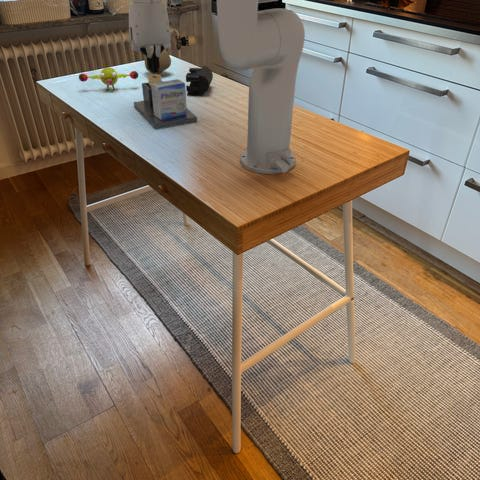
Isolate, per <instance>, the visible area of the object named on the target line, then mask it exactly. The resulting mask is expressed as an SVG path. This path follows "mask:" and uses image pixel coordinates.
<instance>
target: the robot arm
mask: <svg viewBox="0 0 480 480" xmlns="http://www.w3.org/2000/svg"><path fill="white" fill-rule="evenodd" d="M271 2H278V0H216V13H217V14H216V16H217V34H218V42H219V49H220V53H221V56H222V58H223V60H224V62H225V63H226V64H227V66H228V67H229V68H231V69H233V70H235V71H247V70H248V71H249V70H252V71H251V75H250V78H249V84H248V85H249V86H248V106H247V107H248V110H247V111H248V113H247V141H246V143H247V144H246V145H247V147H246V149H244V150H243V152H241V154H240V156H239V159H240V160H239V161H240V164H241V165H242V167H243V168H245V169H246V170H248V171H250V172H252V173H253V172H254V173H257V174H263V175H267V174H268V175H277V174H282V173H283V174H285V173H288V172H289V171H290V170H292V169H293V167H295V165H296V157H295V155H294V154H293V153H292V152H291V151H292V149H290V146H291V136H292V125H293V113H294V101H295V92H296V81H297V73H298V69H299V64H300V60H301V56H302V54H303V50H304V46H305V45H304V44H305V36H306V34H305V27H304V23H303V21H302V19H301V17H299V15H298V14H297V13H296V12H295V11H292V10H291V9H288V8H280V7H279V8H271V9H270V8H269V9H264V10H259V8H258V7H259V4H261V3H262V4H263V3H264V4H265V3H271ZM128 30H129V40H130V42H131V49H132V51H133V52H138V53H140V52H141V53H142V54H143V56H144V55H146V58H147V67H148V69H149V70H150V71H151V72H152V73H155V72H156V73H158V72H159V71H158V68H160V65H159V57H160V54H161V53H162V51H163V50H164V49H165V50H167V49H168V48H172V43H171V40H172V39H171V38H172V36H171V27H170V21H169V15H168V9H167V5H166V2H164V1H163V0H131V2H129V3H128ZM150 46H153V53H152V54H153V55H152V54H151V49H150ZM151 72H150V73H151ZM152 73H151V74H152Z"/></svg>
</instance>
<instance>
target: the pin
mask: <svg viewBox="0 0 480 480" xmlns="http://www.w3.org/2000/svg"><path fill="white" fill-rule="evenodd" d="M147 81H148V82H149V88H151V84H153V83H159V82H162V81H163V80H162V75H161V74H160V75H159V74H152V73H151V74H148V75H147ZM148 82H147V83H148Z"/></svg>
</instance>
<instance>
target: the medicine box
mask: <svg viewBox="0 0 480 480" xmlns="http://www.w3.org/2000/svg"><path fill="white" fill-rule="evenodd" d="M151 90H152V99H153V109H154V115H155V116H156V117H158V118H159V119H161V120H165V119H170V118H174V117H178V116H183V115H186V114H187V109H188V108H187V90H186V83H185V82H184V81H182V80H181V79H172V80H166V81H163V82H159V83H153V84H151ZM186 108H187V109H186Z"/></svg>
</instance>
